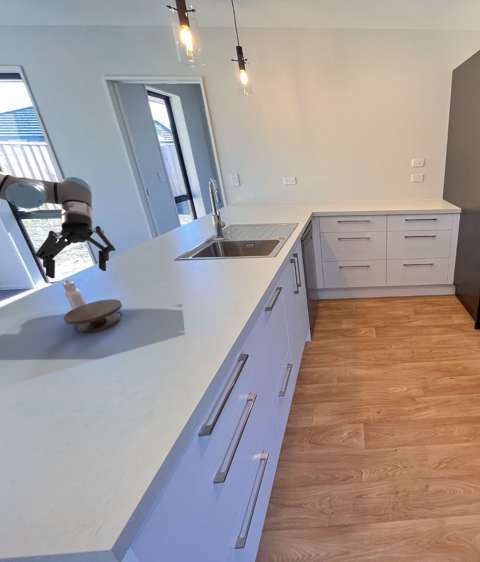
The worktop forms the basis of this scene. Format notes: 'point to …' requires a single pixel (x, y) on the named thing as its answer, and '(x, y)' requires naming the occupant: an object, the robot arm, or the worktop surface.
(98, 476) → the worktop surface
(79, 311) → the walnut stand
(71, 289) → the eye dropper bottle
